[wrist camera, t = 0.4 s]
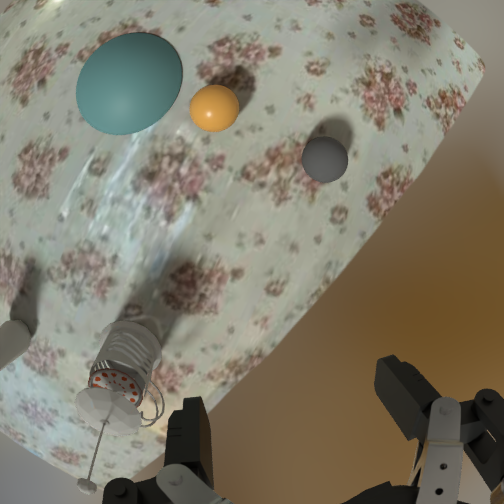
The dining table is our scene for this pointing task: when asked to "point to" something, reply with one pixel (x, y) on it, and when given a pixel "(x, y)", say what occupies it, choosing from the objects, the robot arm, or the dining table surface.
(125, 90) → the teal mark
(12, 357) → the salt shaker
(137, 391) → the french press
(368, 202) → the dining table surface
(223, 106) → the orange ball
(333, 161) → the charcoal ball
